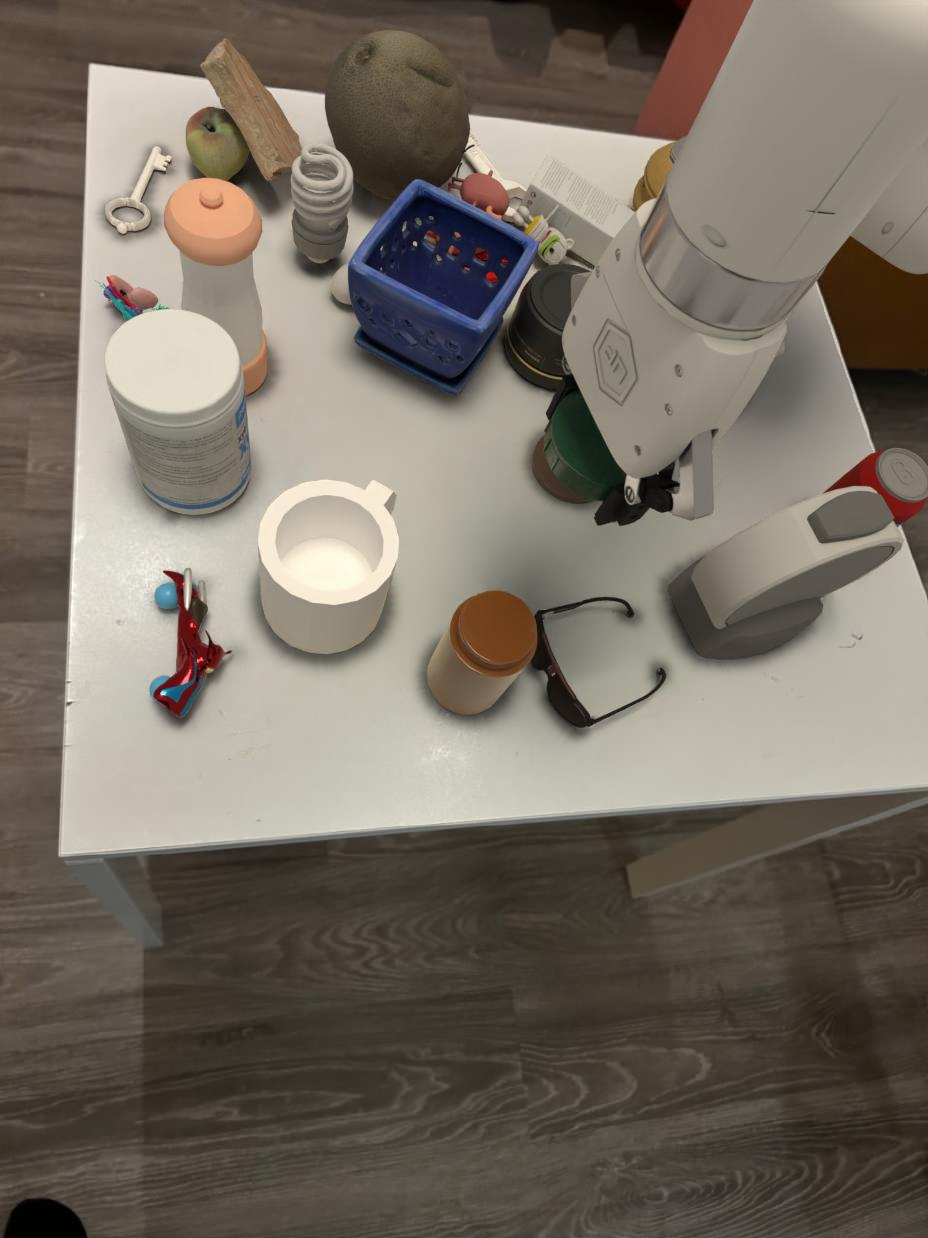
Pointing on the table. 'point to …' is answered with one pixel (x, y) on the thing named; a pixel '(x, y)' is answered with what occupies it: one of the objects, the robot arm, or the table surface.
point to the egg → (341, 285)
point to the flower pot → (435, 285)
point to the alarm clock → (782, 571)
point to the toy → (541, 233)
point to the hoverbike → (186, 644)
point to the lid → (580, 450)
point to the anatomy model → (129, 297)
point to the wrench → (485, 166)
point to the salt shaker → (221, 264)
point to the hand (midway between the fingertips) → (592, 463)
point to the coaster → (552, 477)
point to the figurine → (480, 197)
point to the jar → (541, 325)
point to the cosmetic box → (575, 208)
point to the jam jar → (482, 652)
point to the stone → (252, 110)
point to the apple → (216, 143)
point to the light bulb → (321, 202)
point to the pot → (653, 176)
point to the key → (138, 194)
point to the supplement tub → (181, 408)
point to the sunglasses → (557, 684)
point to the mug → (327, 563)
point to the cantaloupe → (396, 112)
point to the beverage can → (892, 480)
